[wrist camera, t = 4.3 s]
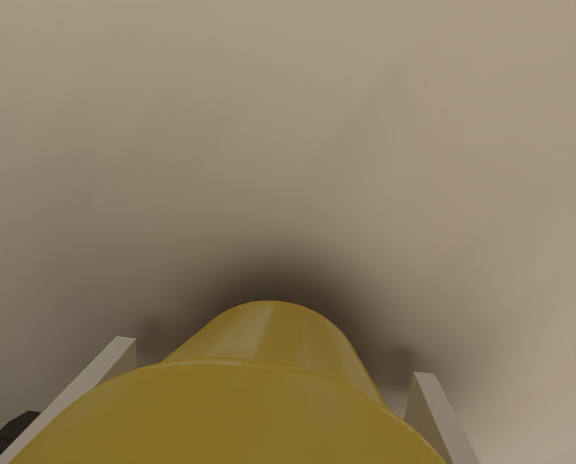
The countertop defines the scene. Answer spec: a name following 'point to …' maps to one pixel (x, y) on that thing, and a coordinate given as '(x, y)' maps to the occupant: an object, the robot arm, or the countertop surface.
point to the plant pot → (238, 402)
